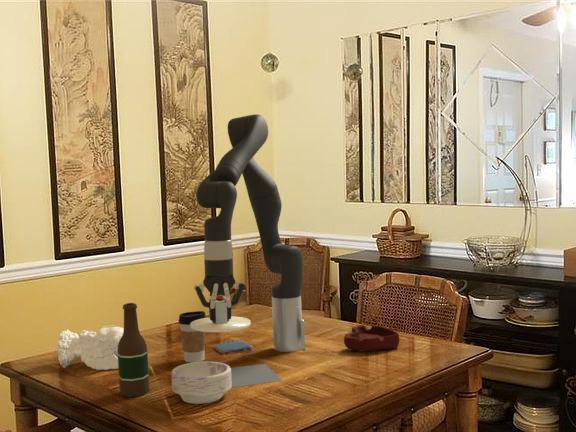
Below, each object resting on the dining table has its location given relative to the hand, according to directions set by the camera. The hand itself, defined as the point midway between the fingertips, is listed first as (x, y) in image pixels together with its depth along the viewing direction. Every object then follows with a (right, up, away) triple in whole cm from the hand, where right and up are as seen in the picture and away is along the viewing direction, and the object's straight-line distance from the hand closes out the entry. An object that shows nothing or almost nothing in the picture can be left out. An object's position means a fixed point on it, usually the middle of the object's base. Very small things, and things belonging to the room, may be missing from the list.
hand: (220, 321), depth 188 cm
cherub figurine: (-40, -18, +28) cm, 52 cm away
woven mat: (+1, -16, +39) cm, 42 cm away
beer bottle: (-23, -19, 0) cm, 30 cm away
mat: (+6, -17, +9) cm, 20 cm away
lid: (0, -1, 0) cm, 1 cm away
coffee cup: (-10, -16, +27) cm, 33 cm away
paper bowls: (-4, -19, -6) cm, 21 cm away
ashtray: (+45, -14, +36) cm, 59 cm away
